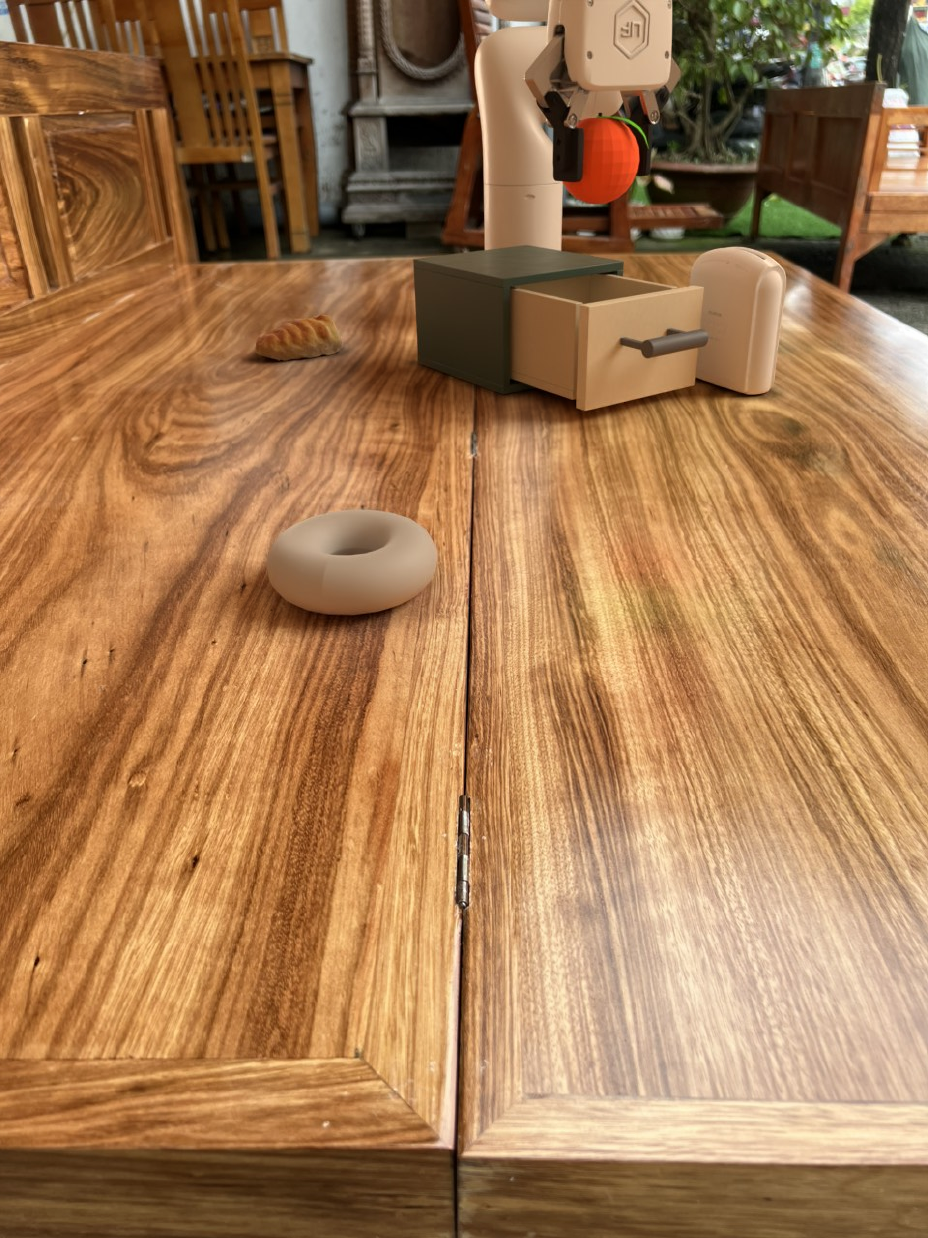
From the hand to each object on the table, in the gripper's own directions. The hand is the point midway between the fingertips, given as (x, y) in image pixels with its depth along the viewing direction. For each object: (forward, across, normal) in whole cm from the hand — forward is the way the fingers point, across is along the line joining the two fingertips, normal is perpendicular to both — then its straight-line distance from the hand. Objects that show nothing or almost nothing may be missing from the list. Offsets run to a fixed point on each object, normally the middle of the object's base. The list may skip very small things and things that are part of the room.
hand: (601, 176), depth 82 cm
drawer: (+18, 0, -1) cm, 18 cm away
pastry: (+19, -15, +32) cm, 40 cm away
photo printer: (+19, +12, -6) cm, 23 cm away
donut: (+19, -38, -23) cm, 48 cm away
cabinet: (+19, 0, +12) cm, 22 cm away
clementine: (+2, 0, 0) cm, 2 cm away
